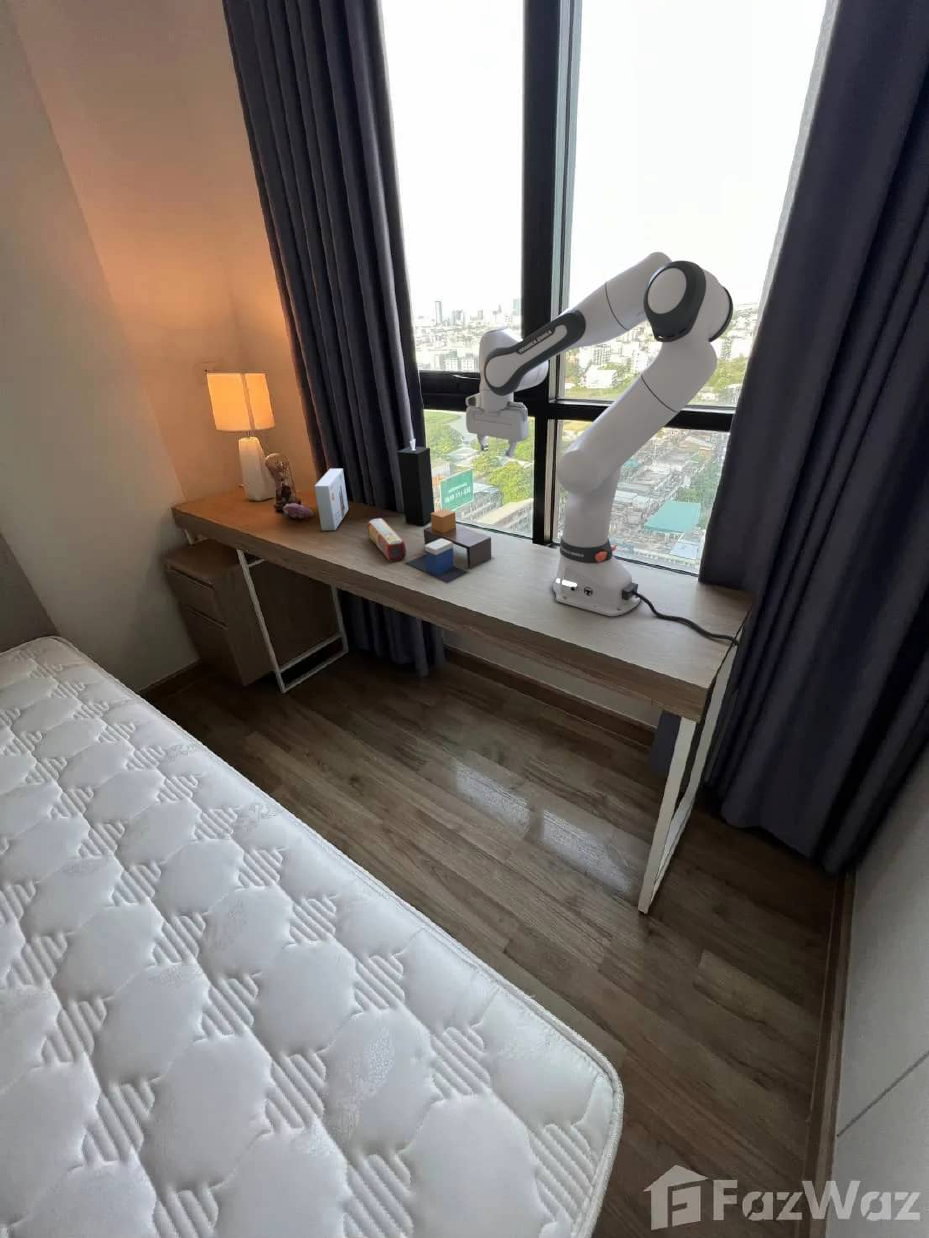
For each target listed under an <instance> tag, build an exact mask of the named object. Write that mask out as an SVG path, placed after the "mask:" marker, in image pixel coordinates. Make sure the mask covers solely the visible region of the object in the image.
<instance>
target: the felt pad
mask: <svg viewBox="0 0 929 1238" xmlns="http://www.w3.org/2000/svg"><path fill="white" fill-rule="evenodd" d="M406 564H407V566H410V567H412V568H415V569H416V570H419V571H421V572H423V573H425V574H428V575H429V576H432V577H434V578H436V579H439V580H440V581H442V582H444V583H449V582H452V581H454V580H456V579H458V578H460V577H462V576H464V575H466V574H468V573H469V571H467V570H465V569H462V568H460V567H459V566H455V565H454V568H452V569H450V570H448V571H446V572H444V573H442V574H440V575H438V576H437V575H435V574H433V573H431V572H428V571H427V567H426V556H425V554H423V555H420V556H419V557H417V558H414V559H412V560H409V561H406Z"/></svg>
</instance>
